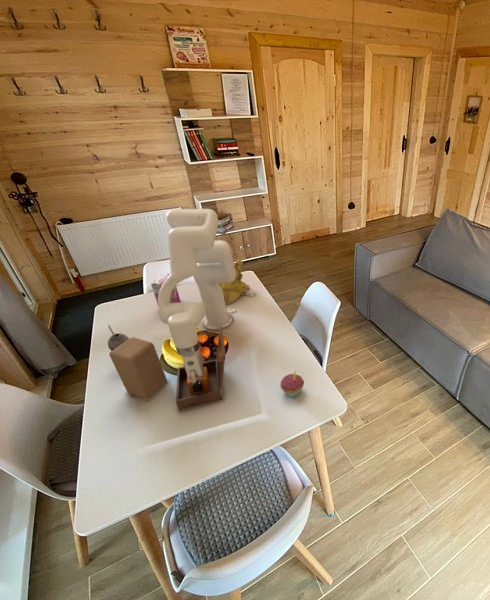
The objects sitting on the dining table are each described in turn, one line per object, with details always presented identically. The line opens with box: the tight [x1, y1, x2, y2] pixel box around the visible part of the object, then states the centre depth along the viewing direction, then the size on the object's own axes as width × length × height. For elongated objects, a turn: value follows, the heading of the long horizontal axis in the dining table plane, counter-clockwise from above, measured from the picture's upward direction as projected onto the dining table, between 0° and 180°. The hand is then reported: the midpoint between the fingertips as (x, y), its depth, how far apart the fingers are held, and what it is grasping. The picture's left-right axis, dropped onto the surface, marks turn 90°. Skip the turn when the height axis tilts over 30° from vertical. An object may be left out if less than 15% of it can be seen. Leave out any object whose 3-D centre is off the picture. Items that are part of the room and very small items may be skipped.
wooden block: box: [108, 336, 168, 400], centre depth 121 cm, size 10×10×20 cm
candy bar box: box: [150, 273, 181, 308], centre depth 168 cm, size 11×5×16 cm, turn 172°
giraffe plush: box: [218, 259, 255, 305], centre depth 178 cm, size 20×24×19 cm
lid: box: [215, 327, 226, 390], centre depth 123 cm, size 15×17×1 cm
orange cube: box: [187, 367, 210, 396], centre depth 124 cm, size 7×7×7 cm
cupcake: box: [279, 370, 305, 397], centre depth 123 cm, size 9×8×12 cm
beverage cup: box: [107, 324, 130, 352], centre depth 130 cm, size 7×7×20 cm
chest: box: [175, 359, 223, 411], centre depth 125 cm, size 14×17×5 cm
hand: (198, 381), depth 124 cm, fingers open, 9 cm apart
